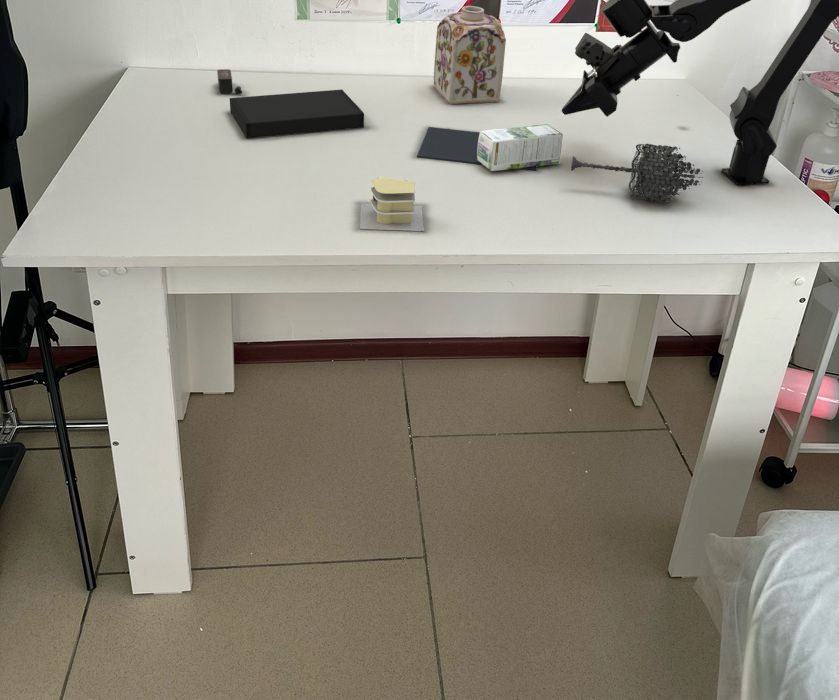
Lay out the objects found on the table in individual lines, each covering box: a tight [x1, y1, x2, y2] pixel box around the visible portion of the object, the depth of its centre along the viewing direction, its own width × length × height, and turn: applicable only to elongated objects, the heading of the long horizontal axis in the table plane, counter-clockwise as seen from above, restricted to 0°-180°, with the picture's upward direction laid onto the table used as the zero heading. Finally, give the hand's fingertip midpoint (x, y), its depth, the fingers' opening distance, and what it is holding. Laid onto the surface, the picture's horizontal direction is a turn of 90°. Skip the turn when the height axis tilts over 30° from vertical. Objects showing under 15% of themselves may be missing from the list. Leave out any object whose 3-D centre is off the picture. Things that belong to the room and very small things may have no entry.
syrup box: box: [477, 123, 564, 172], centre depth 164 cm, size 6×6×14 cm
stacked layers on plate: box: [359, 176, 425, 232], centre depth 144 cm, size 10×9×6 cm
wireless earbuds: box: [216, 68, 243, 95], centre depth 189 cm, size 5×7×3 cm, turn 13°
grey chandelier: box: [570, 143, 704, 203], centre depth 155 cm, size 9×22×9 cm, turn 82°
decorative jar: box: [433, 5, 507, 105], centre depth 191 cm, size 12×12×18 cm
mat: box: [416, 126, 538, 172], centre depth 171 cm, size 22×15×1 cm
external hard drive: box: [229, 89, 365, 139], centre depth 177 cm, size 14×23×3 cm, turn 112°
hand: (563, 112), depth 165 cm, fingers closed
